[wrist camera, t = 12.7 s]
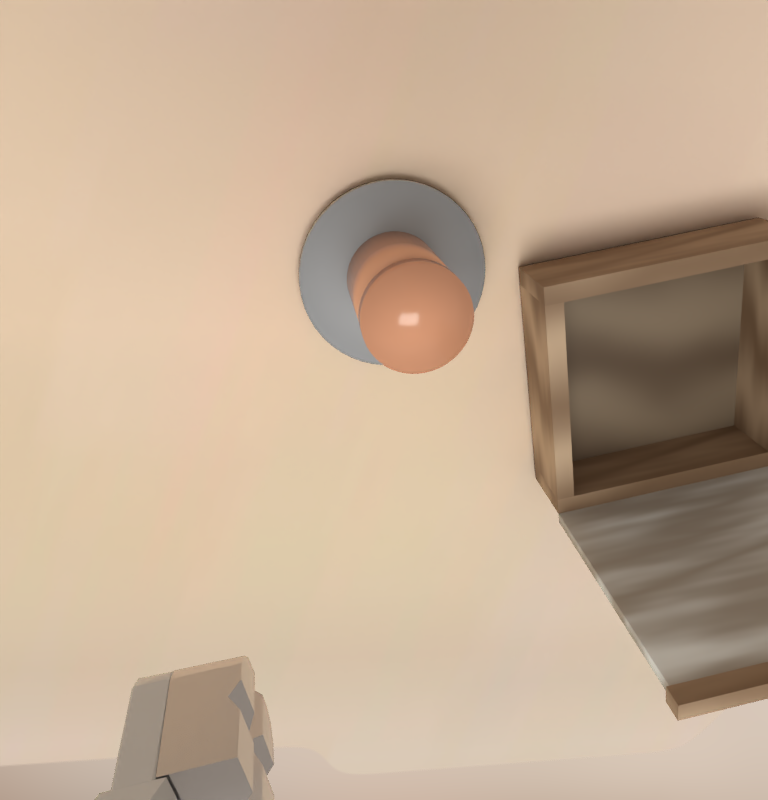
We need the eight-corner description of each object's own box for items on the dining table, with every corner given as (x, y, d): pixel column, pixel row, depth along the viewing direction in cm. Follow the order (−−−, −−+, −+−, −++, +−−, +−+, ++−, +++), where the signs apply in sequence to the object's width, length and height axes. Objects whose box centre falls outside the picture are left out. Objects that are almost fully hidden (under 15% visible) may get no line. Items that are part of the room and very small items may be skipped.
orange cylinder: (337, 240, 36) (351, 277, 30) (433, 221, 36) (467, 253, 30) (355, 332, 38) (371, 384, 32) (445, 313, 39) (479, 361, 32)
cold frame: (515, 267, 39) (687, 409, 23) (761, 216, 40) (1097, 319, 24) (533, 488, 45) (677, 720, 29) (745, 441, 46) (998, 641, 30)
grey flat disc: (279, 199, 36) (279, 201, 35) (471, 161, 36) (474, 163, 36) (320, 377, 40) (320, 381, 39) (490, 341, 40) (493, 344, 40)
